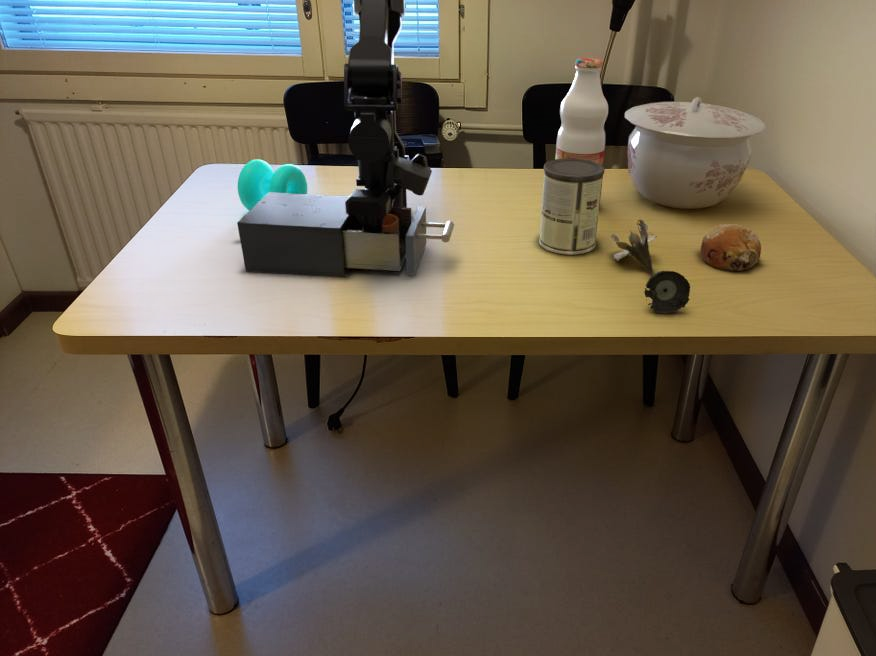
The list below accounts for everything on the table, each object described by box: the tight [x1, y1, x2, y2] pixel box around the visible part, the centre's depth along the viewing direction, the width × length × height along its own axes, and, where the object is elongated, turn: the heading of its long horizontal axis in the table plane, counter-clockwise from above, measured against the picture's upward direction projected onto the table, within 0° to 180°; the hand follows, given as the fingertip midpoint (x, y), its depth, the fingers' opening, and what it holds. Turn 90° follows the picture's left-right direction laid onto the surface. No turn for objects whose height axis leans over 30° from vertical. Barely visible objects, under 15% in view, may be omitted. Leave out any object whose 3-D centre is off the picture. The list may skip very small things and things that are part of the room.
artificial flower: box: [610, 219, 691, 315], centre depth 110 cm, size 9×22×10 cm, turn 179°
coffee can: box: [538, 158, 606, 256], centre depth 120 cm, size 10×10×14 cm
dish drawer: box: [342, 205, 455, 276], centre depth 114 cm, size 21×13×7 cm, turn 85°
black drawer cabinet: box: [236, 192, 352, 278], centre depth 115 cm, size 16×14×8 cm
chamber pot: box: [624, 96, 767, 210], centre depth 141 cm, size 28×28×21 cm
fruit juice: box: [554, 57, 609, 166], centre depth 133 cm, size 9×9×28 cm
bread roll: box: [700, 223, 762, 272], centre depth 119 cm, size 10×10×8 cm
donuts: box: [237, 158, 308, 212], centre depth 131 cm, size 10×10×10 cm
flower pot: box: [362, 214, 399, 233], centre depth 114 cm, size 6×6×4 cm
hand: (381, 237), depth 114 cm, fingers closed on flower pot, 6 cm apart
